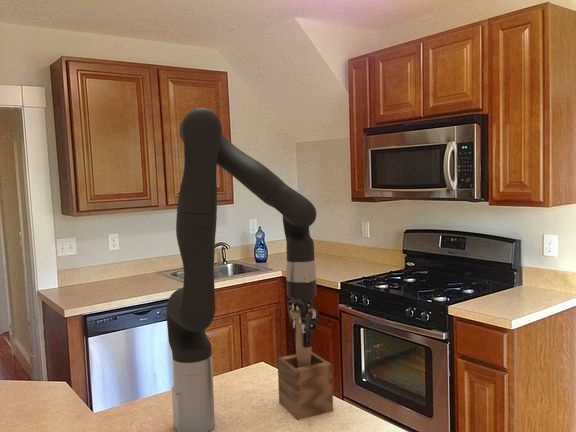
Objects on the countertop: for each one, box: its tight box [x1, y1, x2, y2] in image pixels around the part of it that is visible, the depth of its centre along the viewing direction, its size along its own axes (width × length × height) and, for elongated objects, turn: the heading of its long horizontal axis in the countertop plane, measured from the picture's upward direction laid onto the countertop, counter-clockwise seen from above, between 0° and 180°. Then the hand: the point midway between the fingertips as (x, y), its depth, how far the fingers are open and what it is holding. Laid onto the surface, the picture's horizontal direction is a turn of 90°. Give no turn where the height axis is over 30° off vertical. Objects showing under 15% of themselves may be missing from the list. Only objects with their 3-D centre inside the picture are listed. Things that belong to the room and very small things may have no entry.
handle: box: [290, 308, 316, 368], centre depth 129 cm, size 5×6×15 cm
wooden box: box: [277, 350, 334, 420], centre depth 130 cm, size 10×11×12 cm
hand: (303, 344), depth 129 cm, fingers closed on handle, 4 cm apart
